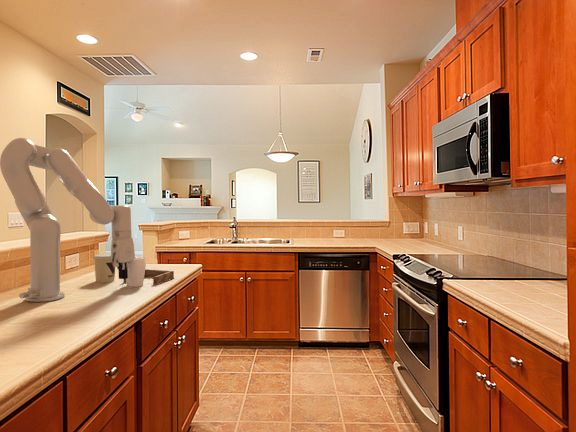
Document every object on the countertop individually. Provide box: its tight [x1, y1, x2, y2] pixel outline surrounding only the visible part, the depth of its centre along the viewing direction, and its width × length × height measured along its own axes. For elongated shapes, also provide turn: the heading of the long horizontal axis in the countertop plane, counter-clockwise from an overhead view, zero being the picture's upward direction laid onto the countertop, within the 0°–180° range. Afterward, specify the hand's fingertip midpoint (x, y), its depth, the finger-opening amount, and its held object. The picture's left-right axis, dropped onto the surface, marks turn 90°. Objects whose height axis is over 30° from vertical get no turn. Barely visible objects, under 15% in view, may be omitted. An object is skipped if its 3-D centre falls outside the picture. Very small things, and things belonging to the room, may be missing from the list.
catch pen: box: [123, 268, 175, 286], centre depth 187 cm, size 16×16×4 cm
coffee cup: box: [93, 253, 116, 284], centre depth 183 cm, size 9×9×12 cm
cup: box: [125, 256, 147, 288], centre depth 175 cm, size 9×9×12 cm
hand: (123, 278), depth 166 cm, fingers closed
